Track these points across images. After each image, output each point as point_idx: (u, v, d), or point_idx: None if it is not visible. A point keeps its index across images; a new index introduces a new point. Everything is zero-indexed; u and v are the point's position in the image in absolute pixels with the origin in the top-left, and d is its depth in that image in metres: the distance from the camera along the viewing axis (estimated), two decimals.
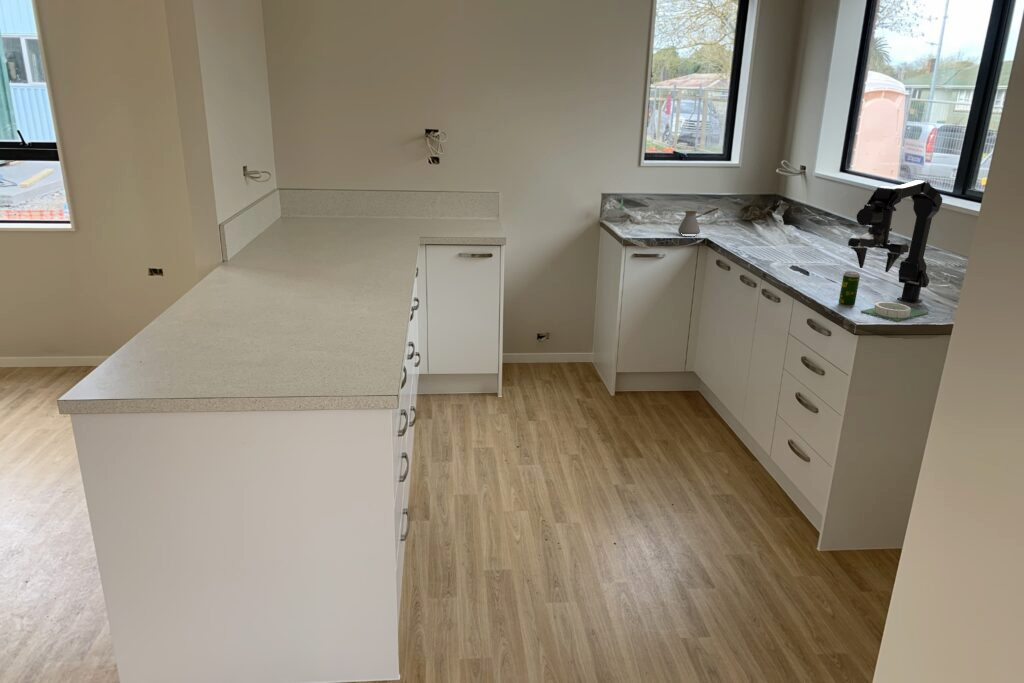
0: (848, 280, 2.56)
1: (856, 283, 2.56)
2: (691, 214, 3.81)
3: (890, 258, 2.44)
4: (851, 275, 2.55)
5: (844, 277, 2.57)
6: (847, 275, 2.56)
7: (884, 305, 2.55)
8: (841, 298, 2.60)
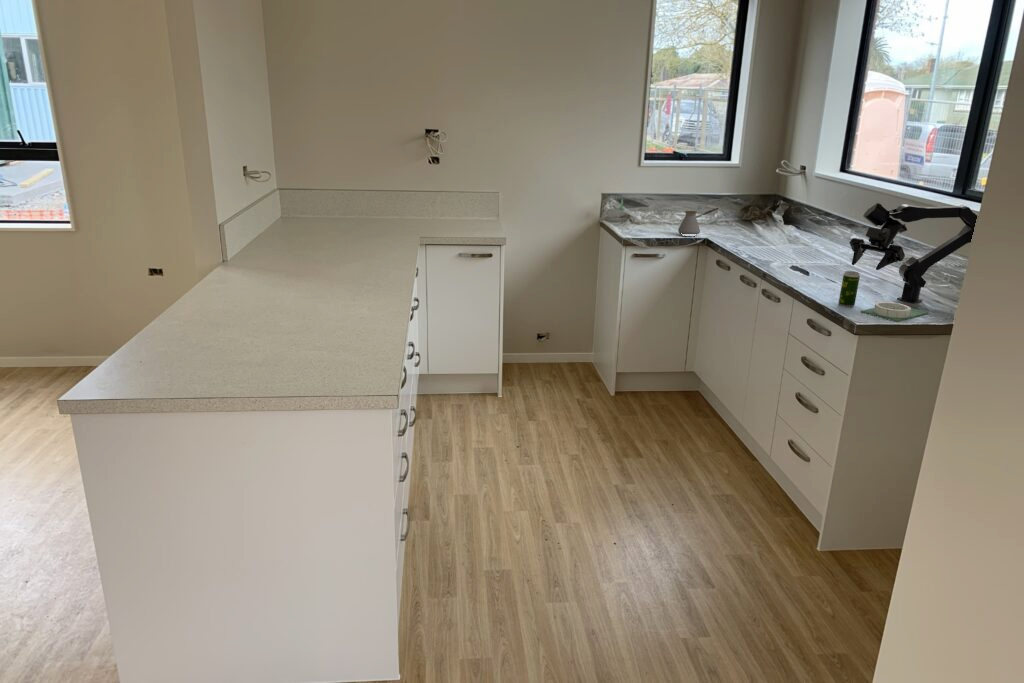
0: (848, 280, 2.56)
1: (856, 283, 2.56)
2: (691, 214, 3.81)
3: (886, 256, 2.56)
4: (851, 275, 2.55)
5: (844, 277, 2.57)
6: (847, 275, 2.56)
7: (884, 305, 2.55)
8: (841, 298, 2.60)
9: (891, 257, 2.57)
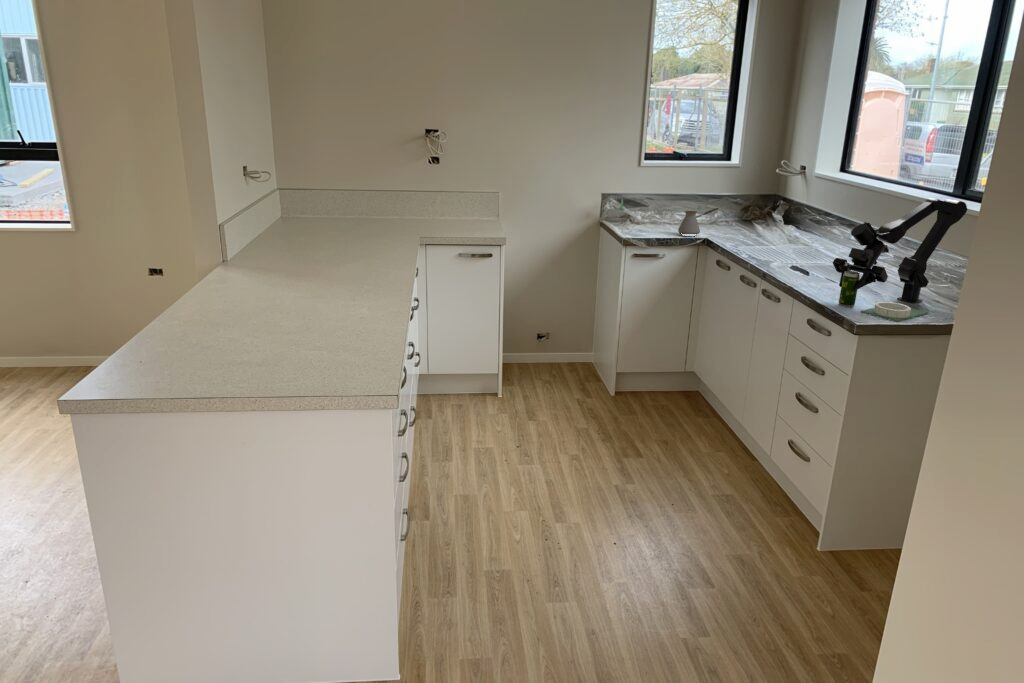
0: (848, 280, 2.56)
1: (856, 283, 2.56)
2: (691, 214, 3.81)
3: (864, 277, 2.55)
4: (851, 275, 2.55)
5: (844, 277, 2.57)
6: (847, 275, 2.56)
7: (884, 305, 2.55)
8: (841, 297, 2.60)
9: (869, 277, 2.56)
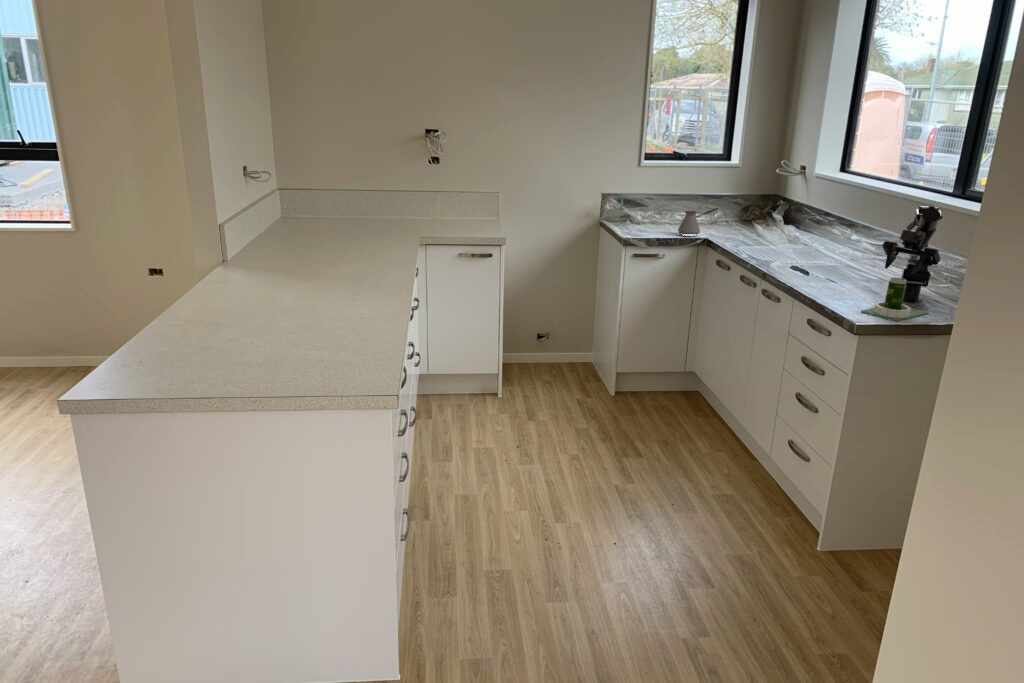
0: (895, 287, 2.46)
1: (903, 290, 2.46)
2: (691, 214, 3.81)
3: (921, 260, 2.51)
4: (898, 282, 2.45)
5: (890, 284, 2.47)
6: (893, 282, 2.46)
7: None
8: (886, 305, 2.50)
9: (926, 260, 2.51)
